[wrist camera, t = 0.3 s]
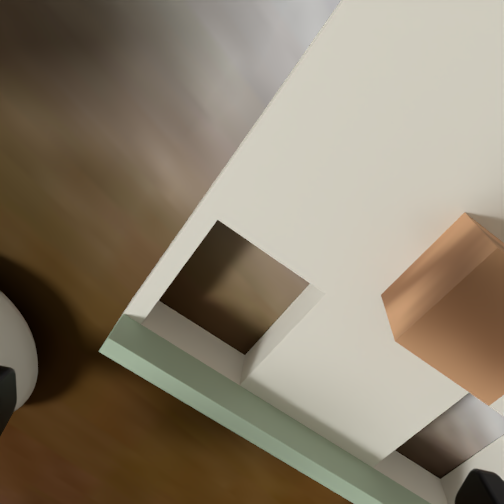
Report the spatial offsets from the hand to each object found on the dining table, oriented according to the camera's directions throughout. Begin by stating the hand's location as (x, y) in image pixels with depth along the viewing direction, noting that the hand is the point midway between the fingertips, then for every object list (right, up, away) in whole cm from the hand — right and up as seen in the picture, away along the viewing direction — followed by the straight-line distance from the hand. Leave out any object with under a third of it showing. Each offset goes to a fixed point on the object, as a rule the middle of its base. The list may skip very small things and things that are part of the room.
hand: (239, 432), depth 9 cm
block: (+10, +2, +11) cm, 15 cm away
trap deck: (+9, +2, +14) cm, 17 cm away
